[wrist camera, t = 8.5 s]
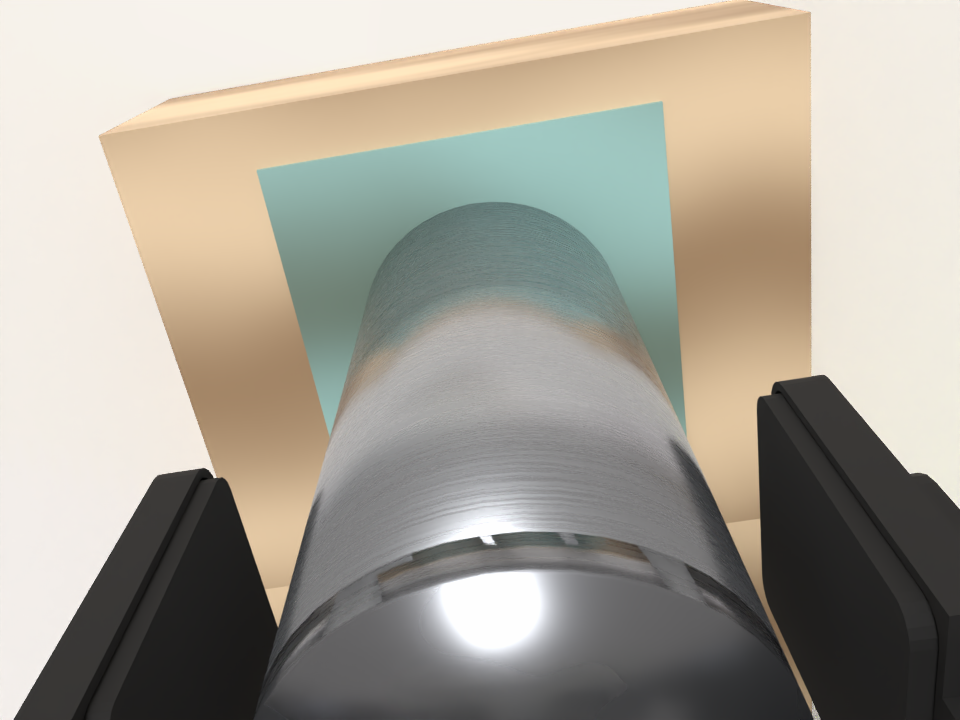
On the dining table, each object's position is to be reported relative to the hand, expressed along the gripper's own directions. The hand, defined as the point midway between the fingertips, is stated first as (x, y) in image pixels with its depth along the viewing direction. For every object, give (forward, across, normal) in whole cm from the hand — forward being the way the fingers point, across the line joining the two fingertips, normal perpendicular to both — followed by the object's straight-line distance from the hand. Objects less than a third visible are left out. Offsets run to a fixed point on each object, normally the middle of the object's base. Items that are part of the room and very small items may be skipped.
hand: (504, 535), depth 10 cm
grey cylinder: (+7, 0, 0) cm, 7 cm away
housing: (+11, 0, +4) cm, 12 cm away
